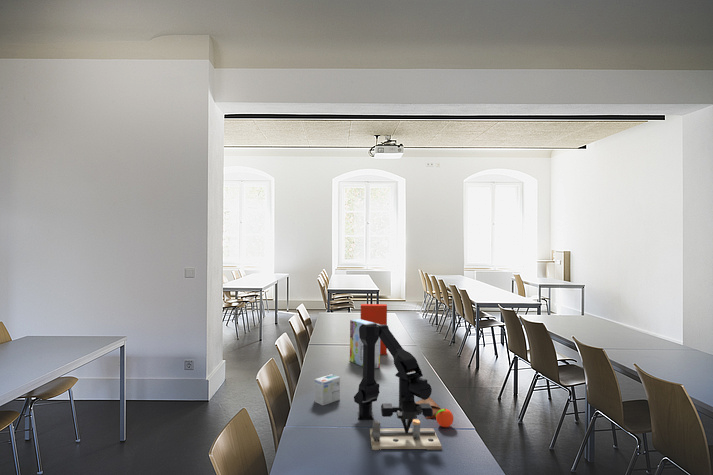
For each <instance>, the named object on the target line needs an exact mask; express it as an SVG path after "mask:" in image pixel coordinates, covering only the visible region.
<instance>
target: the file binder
mask: <svg viewBox="0 0 713 475" xmlns="http://www.w3.org/2000/svg"><path fill="white" fill-rule="evenodd" d="M360 319H362V320H366V321H369V322H373V323H377V324H381V325H384V324H385V325H387V326H388V305H387V304H381V303H376V304H375V303H361V304H360ZM387 350H388V349H387V348H386V346H385V345H384V343H383V342H382V340H381V339H380V356H381V355H386V356H387V355H388V354H387Z"/></svg>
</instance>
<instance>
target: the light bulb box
mask: <svg viewBox="0 0 713 475" xmlns="http://www.w3.org/2000/svg"><path fill="white" fill-rule="evenodd" d="M340 400H341V377H340V376H338V375H335V374H332V373H331V374H328V375H325V376H321V377H317V378H314V402H315V403H316V404H318V405H321V406H326V405H329V404H331V403H334V402H337V401H340Z"/></svg>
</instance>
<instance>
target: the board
mask: <svg viewBox="0 0 713 475" xmlns="http://www.w3.org/2000/svg"><path fill="white" fill-rule="evenodd" d="M369 435H370V436H369V437H370V444H371V450H372V451H382V450H381V449H427V450H442V449H443V446H442V444H441V442H440V440H439V438H438V435H437V433H436V431H435V428H434V427H427V428H426V427H420V438H418V440H416V438H413V436H412V427H410V428H409V431H408V433H405V430H404V427H402V428H401V427H400V428H399V427H398V428H395V427H394V428H386V427H385V428H381V421H380V420H378V419H377V420H376V419H375V420H374V419H372V428H369ZM379 449H380V450H379Z"/></svg>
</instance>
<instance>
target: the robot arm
mask: <svg viewBox="0 0 713 475" xmlns="http://www.w3.org/2000/svg"><path fill="white" fill-rule="evenodd" d="M359 336H360V339H361V341H362V343H363V366H362V379H361V381H360V382H359V384H358V390H357V393H356V394H354V396H353V400H354V403H356V404H358V411H357V419H358V420H374V419H375V418H374V417H375V416H374V413H373V412H374V411H373V402H377V401H378V399H379V398H378V397H379V394H380V383H377V381H376V378H375V372H376V371H375V370H376V369H375V344H376V342H377V340H378V339H379V338H380V339H381V340H382V342H383V343H384V345H385V346H386V348H387V350H388V352H389V353H390V355H391V357H392V358H393V365H394V367H395V369H396V371H397V373H396V374H394V376H395V377H397V378H398V406H393V405H392V404H393V403H387V402H386V403H381V405H380V411H381V417H383V418H385V417H386V418H387V417H388V418H391V417H392V416H393V415H394V413H395V414H396V417H397V419H399V420H401V423H402V426H403V428H404V430H405V433H408V431H409V428H411V426H412V421H413V420H417V419H418V416H420V415H422V416H424V417H425V418H426V417H432V416H433V409H432V407H431V405H430V404H429V403H420V404H417V403H416V400H415V397H417V398H419V399H420V400H422V399H423V400H426V399H428V398H429V397H430V396H431V395H432V391H433V390H432V387H431V384H430V383H428V379H426V378H423V377H424V376H423V373H422V372H423V371H422V369H421V367H420V365H419V362H418V360H417V359H416V357H415V356H414V355H413V354H412V353H411V352H409V351H408V350H405V348H403V347H402V345H401V344H400V343H399V341H398V340H397V339H396V337H395V336H394V335H393V333H392V332H391V331H390V328H389V325H388V324H387V325H385V324H384V325H377V324H376V323H368V324H362V325H361V326H360V327H359ZM430 398H431V397H430Z"/></svg>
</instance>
